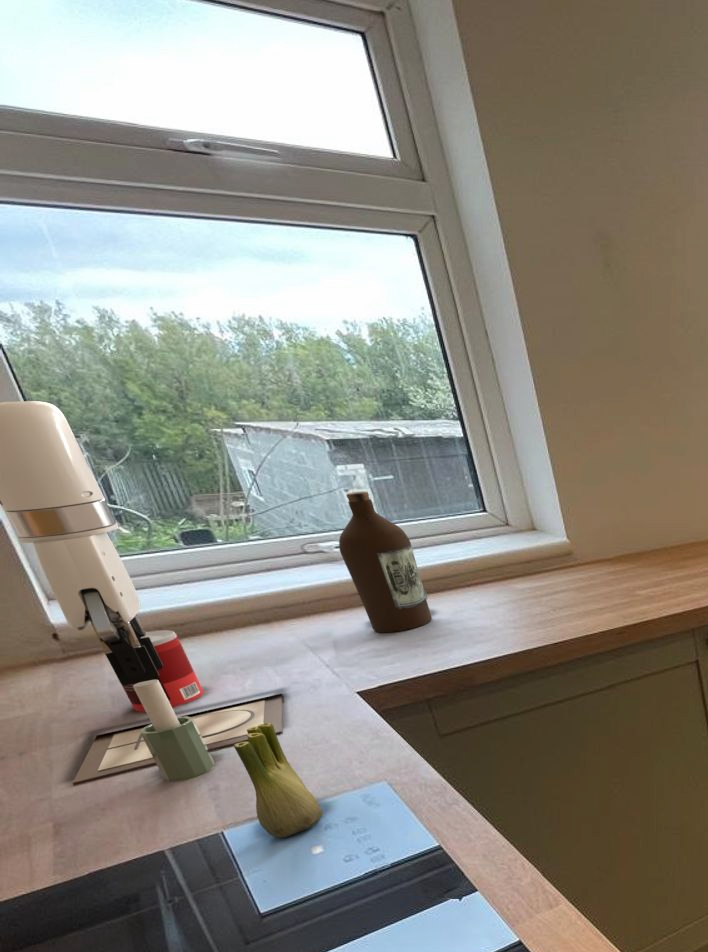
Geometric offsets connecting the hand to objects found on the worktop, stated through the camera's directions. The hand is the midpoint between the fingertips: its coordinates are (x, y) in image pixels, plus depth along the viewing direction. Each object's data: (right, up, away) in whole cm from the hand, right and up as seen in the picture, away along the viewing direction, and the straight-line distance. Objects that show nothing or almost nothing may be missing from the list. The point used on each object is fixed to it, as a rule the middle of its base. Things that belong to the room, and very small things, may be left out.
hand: (143, 675), depth 95 cm
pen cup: (0, -12, +5) cm, 14 cm away
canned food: (-23, -5, +26) cm, 35 cm away
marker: (0, -12, +5) cm, 13 cm away
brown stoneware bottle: (-13, +10, +60) cm, 62 cm away
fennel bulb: (+25, -17, -7) cm, 31 cm away
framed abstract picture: (-10, -8, +16) cm, 20 cm away
